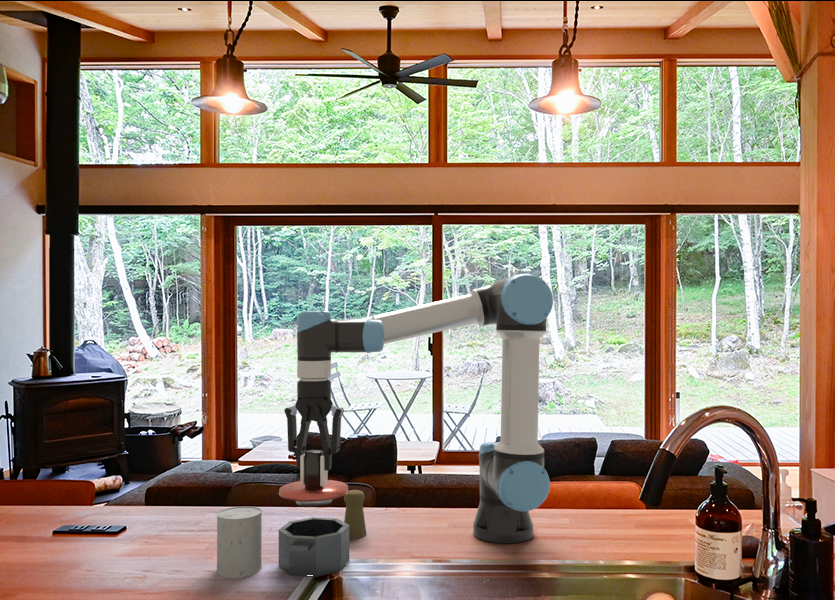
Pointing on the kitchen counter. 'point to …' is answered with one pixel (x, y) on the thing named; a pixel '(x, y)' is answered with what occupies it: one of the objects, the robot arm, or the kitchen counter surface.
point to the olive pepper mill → (355, 513)
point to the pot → (313, 546)
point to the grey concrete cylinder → (239, 541)
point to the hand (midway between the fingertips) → (314, 484)
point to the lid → (313, 485)
